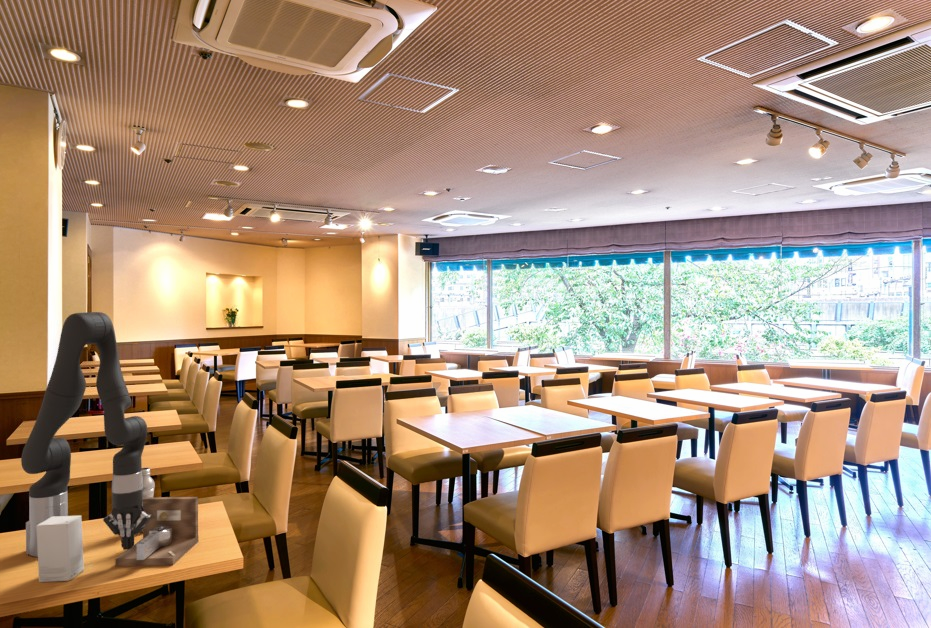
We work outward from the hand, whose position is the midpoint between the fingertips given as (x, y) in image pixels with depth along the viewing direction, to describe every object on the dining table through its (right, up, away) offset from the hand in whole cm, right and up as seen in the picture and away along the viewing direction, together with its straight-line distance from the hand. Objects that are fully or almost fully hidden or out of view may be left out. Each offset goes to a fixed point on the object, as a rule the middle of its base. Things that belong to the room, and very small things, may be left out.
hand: (128, 548), depth 160 cm
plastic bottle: (-9, -4, +24) cm, 26 cm away
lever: (+6, -2, +3) cm, 7 cm away
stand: (+5, -4, +6) cm, 9 cm away
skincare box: (-13, -4, -8) cm, 16 cm away
